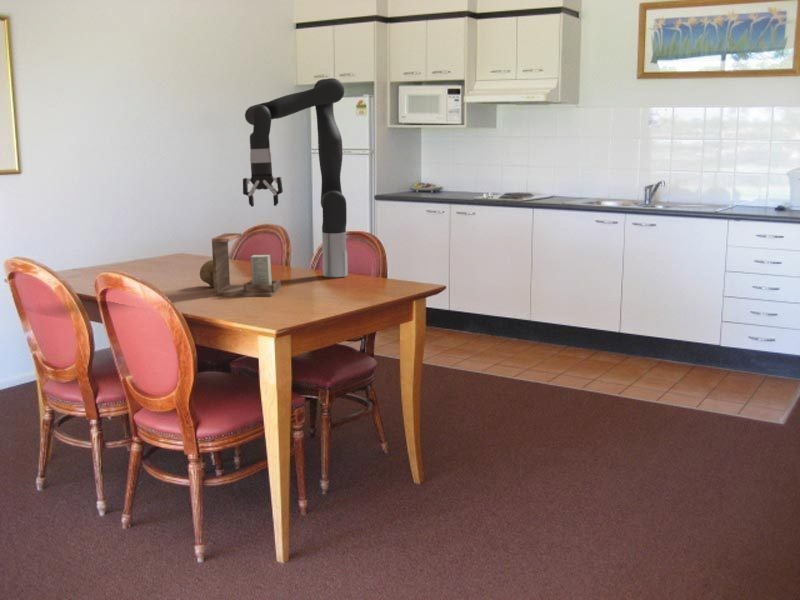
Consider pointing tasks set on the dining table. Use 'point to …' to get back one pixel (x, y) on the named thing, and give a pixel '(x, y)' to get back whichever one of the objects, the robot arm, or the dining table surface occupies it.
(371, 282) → the dining table surface
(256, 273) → the skincare box
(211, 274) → the natural sponge
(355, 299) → the dining table surface
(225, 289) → the wooden display stand
